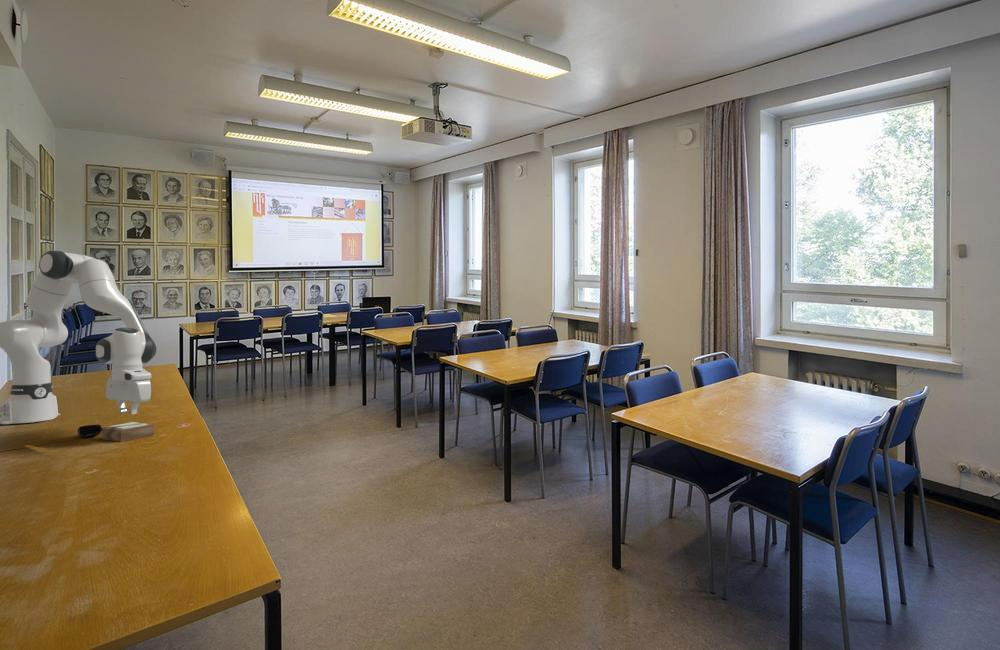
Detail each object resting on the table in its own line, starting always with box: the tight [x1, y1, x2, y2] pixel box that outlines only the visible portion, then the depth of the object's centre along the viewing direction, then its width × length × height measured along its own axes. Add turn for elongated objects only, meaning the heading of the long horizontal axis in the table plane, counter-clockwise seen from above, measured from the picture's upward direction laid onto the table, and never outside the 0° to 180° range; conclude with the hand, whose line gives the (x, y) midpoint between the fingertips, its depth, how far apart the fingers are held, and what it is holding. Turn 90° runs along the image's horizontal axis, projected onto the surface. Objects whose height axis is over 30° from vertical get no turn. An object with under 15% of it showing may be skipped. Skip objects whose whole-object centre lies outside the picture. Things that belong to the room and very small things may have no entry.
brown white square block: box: [101, 421, 155, 443], centre depth 187 cm, size 11×11×4 cm
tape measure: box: [77, 424, 103, 438], centre depth 187 cm, size 7×7×4 cm
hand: (128, 413), depth 187 cm, fingers open, 5 cm apart
